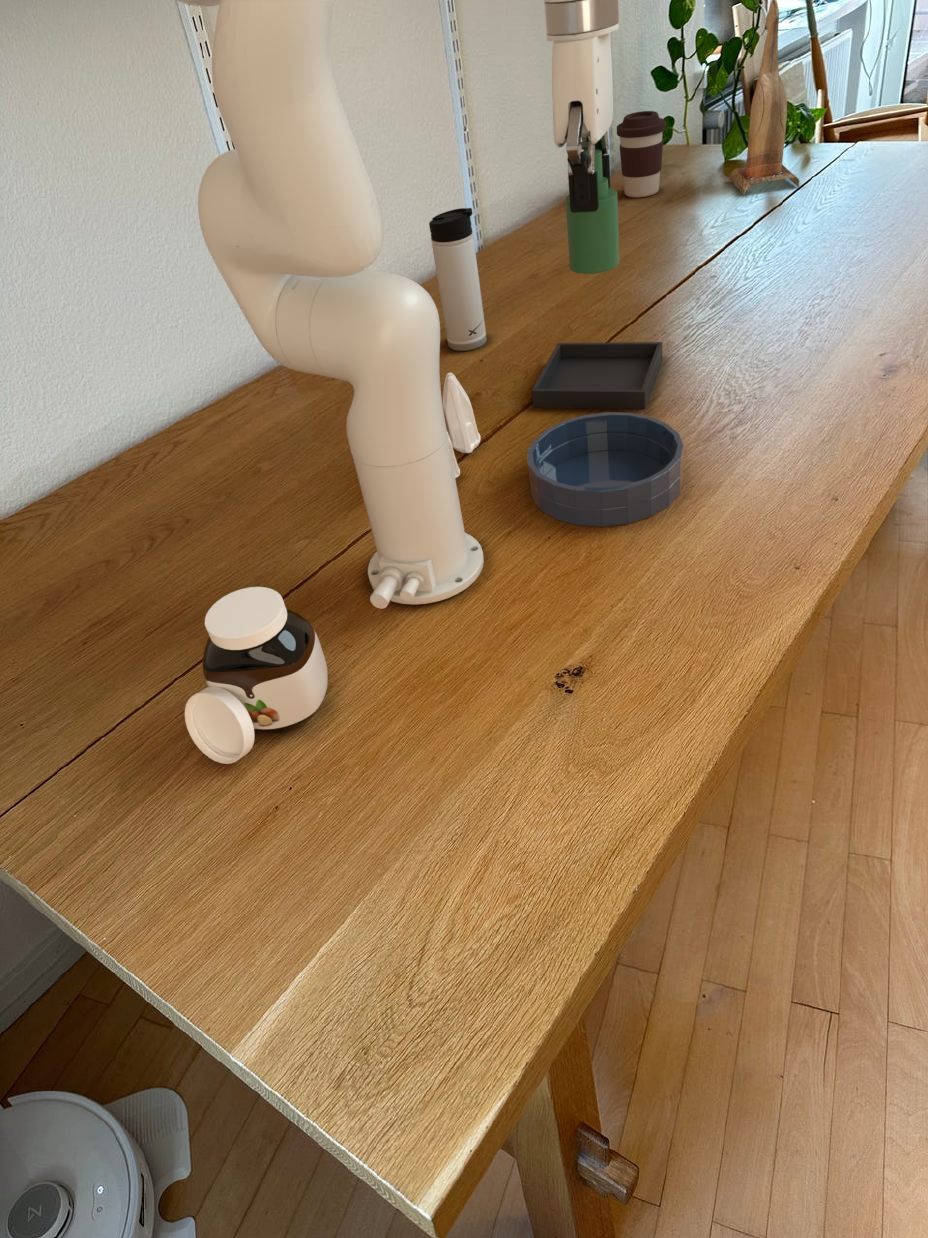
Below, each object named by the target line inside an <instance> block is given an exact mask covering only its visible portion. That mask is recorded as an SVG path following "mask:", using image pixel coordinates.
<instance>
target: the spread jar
mask: <svg viewBox="0 0 928 1238" xmlns="http://www.w3.org/2000/svg"><path fill="white" fill-rule="evenodd" d="M284 601H285V600H284V599H283V597H282V595H281V594H280V593H279V592H278V591H277V590H275V589H272V588H269V587H266V586H265V587H264V586H251V587H244V588H240V589H237V590H235V591H232V592H230V593H228V594H226V595H224V596H222V597H221V598H220V599H218V600H217V601H216V602H215V603H213V604H212V606H211V607H210V608H209V609H208V610H207V612H206V614H205V617H204V627H205V629H206V631H207V633H208V634H207V635H208V638H207V641H206V643H205V647H204V649H203V656H202V673H203V677H204V681H205V683H206V685H207V687H205V688H203V689H201V690H200V691H198V692H196V693H195V694H193V695H192V696H190V697H189V699H188V700H187V701H186V703H185V707H184V722H185V725H186V729H187V732H188V734H189V736H190V738H191V740H192V741H193V743H194V745H196V747H197V748H198V749H199V750H200V751H201V752H202V754H203V755H205V756H206V757H208V758H209V759H211V760H212V761H214V762H216V763H220V764H225V765H229V764H233V763H236V762H237V761H239V760H240V759H242V758H243V757H245V756H246V755H247V754H248V753H250V752H251V750H252V749H253V746H254V743H255V733H257V734H263V735H271V734H272V735H275V734H282V733H286V732H289V731H292V730H295V729H296V728H298V727H300V726H302V725H304V724H305V723H307V722H308V721H310V720H311V719H312V718H313V717H314V716H315V715H316V713H317V712H318V711H319V709H320V708H321V706H322V704H323V702H324V699H325V697H326V694H327V689H328V683H329V682H328V681H329V678H328V677H329V675H328V665H327V661H326V657H325V655H324V654H325V653H324V651H323V647H322V644H321V642H320V639H319V636H318V634H317V632H316V630H315V629H314V627H313V625H312V623H311V622H309V620H307V618H305V617H304V616H303V615H301V614H299V613H298V612H296V611H293V610H292V609H289V608H287V607H286V605H285V602H284Z"/></svg>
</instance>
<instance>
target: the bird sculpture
mask: <svg viewBox="0 0 928 1238" xmlns="http://www.w3.org/2000/svg"><path fill="white" fill-rule="evenodd" d="M765 16H766V17H765V24H764V30H765V31H766V37H765V41H764V46H763V50H762V51H763V52H762V58H761V63H760V68H759V73H758V77H757V82H756V86H755V90H754V93H753V97H752V101H751V106H750V114H749V115H750V116H749V128H748V141H747V143H748V144H747V153H746V160H745V161H746V162H745V167H741V168H740V167H738V168H734V169H733V170H732V171H731V173H730V175H729V181H730V182H731V183H732V184H733V186H734V187H735V188H736V190H738V191H740V192H741V194H742V195H743V196H745V194H746V192H747V190H749V189H750V188H751V187H753V186H754V185H756V184H760V183H764V182H771V181H778V180H786V179H788V180H790V182H792V183H793V184H794V185H795V186H796V187H797V188H800V178H798V177H797V175H795V174H794V173H792V172H791V171H790V170H789V169H788V168H787V167H786V166H785V165H784V164H783V158H784V149H785V140H786V139H785V138H786V131H787V129H786V128H787V119H788V118H787V117H788V114H787V113H788V97H787V93H786V90H785V87H784V83H783V80H782V78H781V75H780V69H779V22H780V9H779V5H778V1H777V0H771V2H770V4H769V8H768V12H767V14H766V15H765Z"/></svg>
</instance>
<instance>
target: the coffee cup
mask: <svg viewBox="0 0 928 1238" xmlns="http://www.w3.org/2000/svg"><path fill="white" fill-rule="evenodd" d="M666 125H667V121H666V119H664V118H662V117H660V116H659V113H658V112H657V111H654V110H644V111H643V110H641V111H634V112H631V113H628V114H625V116H624V117H623V120H622V122H621V123H619V124H617V126H616V136H617V137H619V157H620V166H621V175H622V178H623V191H624V195H625V196H627V197H629V198H637V199H638V198H646V197H650V196H653V195H655V194H657V193H658V192H659V191H660V178H661V171H662V166H663V165H662V164H663V163H662V162H663V148H664V147H663V146H664V139H663V132H664V131H665V130H666V128H667V127H666Z"/></svg>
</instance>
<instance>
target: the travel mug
mask: <svg viewBox="0 0 928 1238" xmlns="http://www.w3.org/2000/svg"><path fill="white" fill-rule="evenodd" d="M473 214H474V213H473V208H472V207H466V208H465V207H461V208H455V209H451V210H448V211H444V212H442V213H439V214H437V215H435V216H433V217H432V218H431V219H432V220H430V221H429V223H428V225H429V226H428V227H429V233H430V241H431V247H432V253H433V258H434V259H433V260H434V265H435V266H434V267H435V272H436V278H437V285H438V290H439V296H440V303H441V309H442V316H443V322H444V328H445V335H446V339H447V340H446V341H447V346H448V347H449V349H451V350H453V351H457V352H468V351H473V350H476V349H479V348H481V347H483V346H484V345H485V344H486V342H487V331H486V323H485V316H484V315H485V314H484V308H483V299H482V292H481V285H480V276H479V269H478V262H477V254H476V245H475V239H474V232H473V228H472V220H471V217H472V215H473Z"/></svg>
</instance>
